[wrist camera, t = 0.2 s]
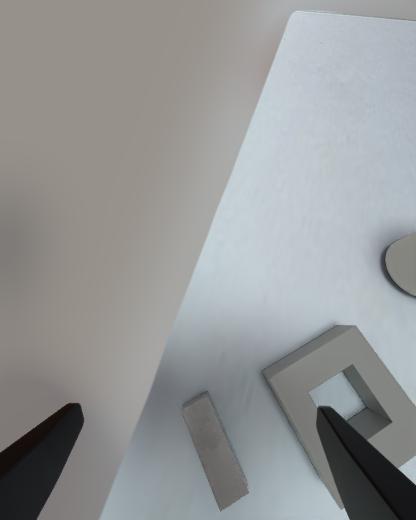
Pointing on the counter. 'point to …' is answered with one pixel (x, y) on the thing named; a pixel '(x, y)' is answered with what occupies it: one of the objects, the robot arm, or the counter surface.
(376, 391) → the bore block
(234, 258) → the counter surface
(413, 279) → the can
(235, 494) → the flat bit
